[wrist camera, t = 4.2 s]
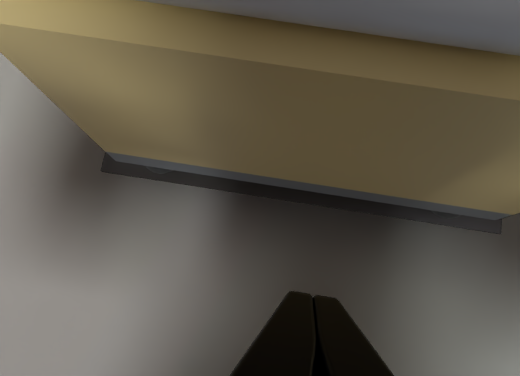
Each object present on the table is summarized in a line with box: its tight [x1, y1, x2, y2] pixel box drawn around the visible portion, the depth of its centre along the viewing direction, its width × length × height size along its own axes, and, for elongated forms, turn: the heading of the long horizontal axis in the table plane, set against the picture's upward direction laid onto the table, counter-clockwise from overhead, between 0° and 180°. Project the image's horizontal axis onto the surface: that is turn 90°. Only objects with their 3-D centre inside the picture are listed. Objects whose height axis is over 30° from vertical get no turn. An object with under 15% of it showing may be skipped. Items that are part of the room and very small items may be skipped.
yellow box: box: [0, 0, 520, 220], centre depth 12 cm, size 10×12×10 cm
